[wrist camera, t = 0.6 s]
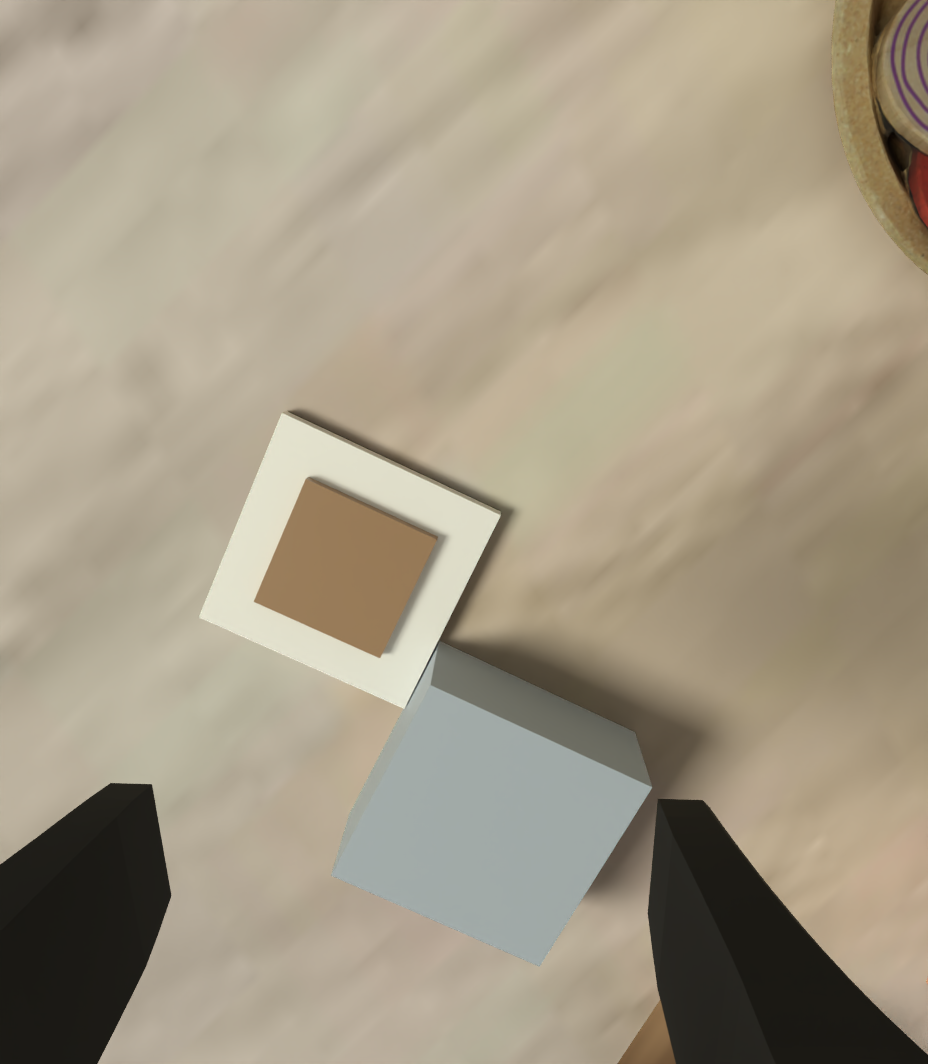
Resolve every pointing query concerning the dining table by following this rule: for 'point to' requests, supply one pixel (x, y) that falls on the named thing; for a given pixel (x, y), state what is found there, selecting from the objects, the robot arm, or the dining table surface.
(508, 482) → the dining table surface
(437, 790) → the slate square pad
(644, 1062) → the walnut cube
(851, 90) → the toy sandwich meal
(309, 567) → the swatch
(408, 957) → the dining table surface
